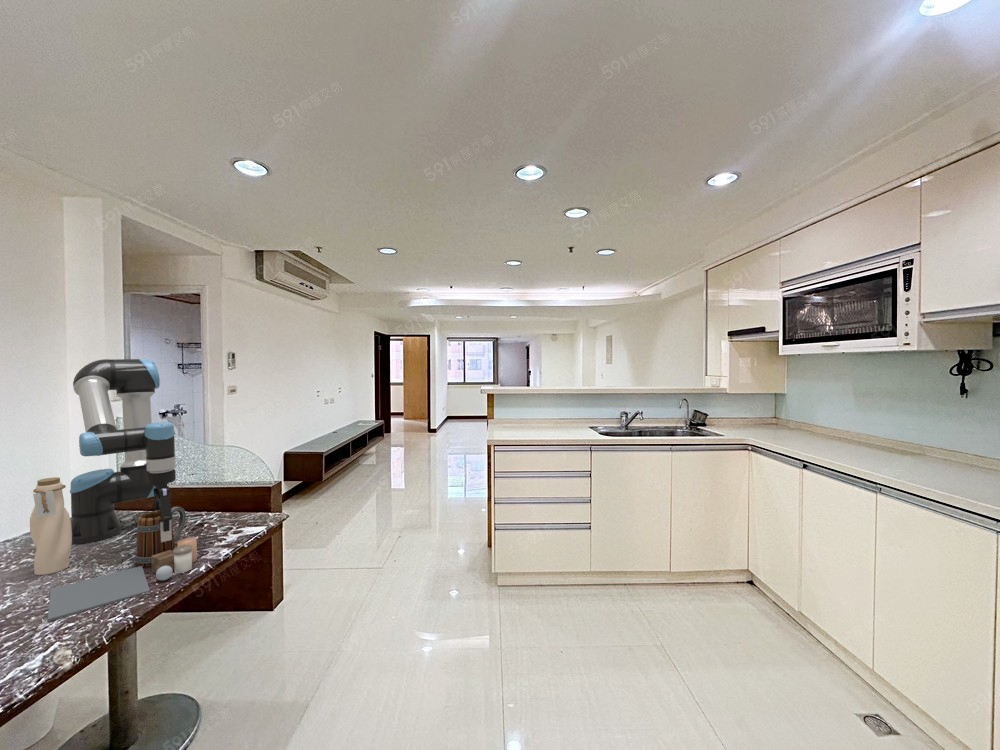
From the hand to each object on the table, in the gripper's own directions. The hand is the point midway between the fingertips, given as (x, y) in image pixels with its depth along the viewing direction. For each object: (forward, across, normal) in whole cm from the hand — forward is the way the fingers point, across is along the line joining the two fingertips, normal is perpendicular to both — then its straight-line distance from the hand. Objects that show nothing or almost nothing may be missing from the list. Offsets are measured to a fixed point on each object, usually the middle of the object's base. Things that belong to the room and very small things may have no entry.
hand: (163, 534), depth 146 cm
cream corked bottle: (+7, -12, -26) cm, 30 cm away
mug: (+8, 0, 0) cm, 8 cm away
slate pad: (+8, +14, -16) cm, 23 cm away
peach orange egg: (+8, +10, +5) cm, 13 cm away
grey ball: (+6, +18, -2) cm, 19 cm away
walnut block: (+8, +12, -1) cm, 14 cm away
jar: (+8, +16, +3) cm, 18 cm away
